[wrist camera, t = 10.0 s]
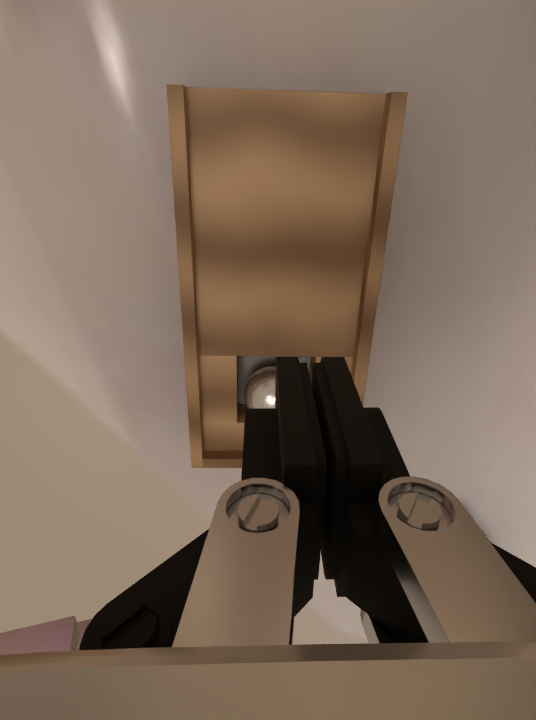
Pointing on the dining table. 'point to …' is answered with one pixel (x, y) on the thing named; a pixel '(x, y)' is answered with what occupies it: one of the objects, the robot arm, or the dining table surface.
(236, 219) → the track
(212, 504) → the dining table surface
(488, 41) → the dining table surface
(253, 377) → the ball
